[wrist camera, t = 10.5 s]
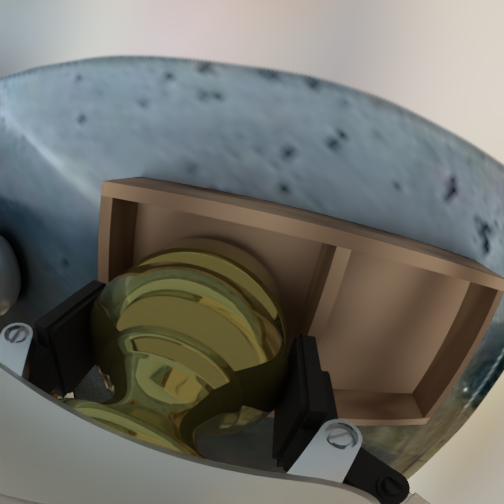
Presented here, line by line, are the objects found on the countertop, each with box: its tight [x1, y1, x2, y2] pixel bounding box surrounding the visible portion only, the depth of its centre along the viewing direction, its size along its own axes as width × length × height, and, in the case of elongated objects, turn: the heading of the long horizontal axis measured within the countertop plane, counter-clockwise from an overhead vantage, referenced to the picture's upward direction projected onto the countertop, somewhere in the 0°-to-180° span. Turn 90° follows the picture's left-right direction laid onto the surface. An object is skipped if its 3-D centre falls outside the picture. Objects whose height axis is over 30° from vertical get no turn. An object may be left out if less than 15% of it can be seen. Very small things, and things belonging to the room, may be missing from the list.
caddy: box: [98, 177, 504, 426], centre depth 13 cm, size 20×10×4 cm, turn 78°
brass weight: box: [57, 238, 289, 459], centre depth 8 cm, size 7×7×10 cm
